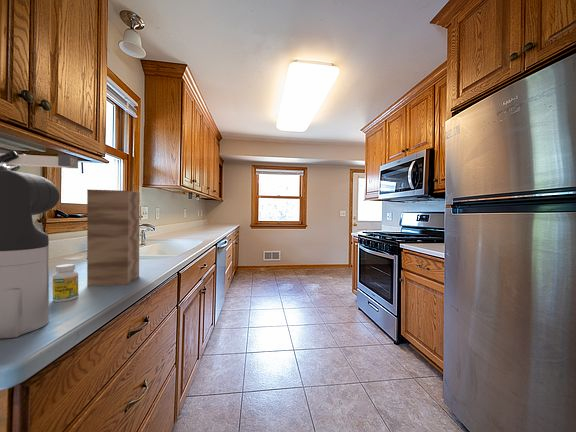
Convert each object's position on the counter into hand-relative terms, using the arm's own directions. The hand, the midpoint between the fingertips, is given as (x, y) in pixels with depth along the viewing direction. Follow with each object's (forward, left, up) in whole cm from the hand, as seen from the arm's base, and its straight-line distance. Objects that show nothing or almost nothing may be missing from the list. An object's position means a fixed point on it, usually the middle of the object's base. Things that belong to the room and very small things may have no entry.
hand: (21, 155), depth 77 cm
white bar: (0, -5, -3) cm, 6 cm away
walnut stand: (+3, -26, -42) cm, 50 cm away
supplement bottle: (-14, -21, -43) cm, 49 cm away
